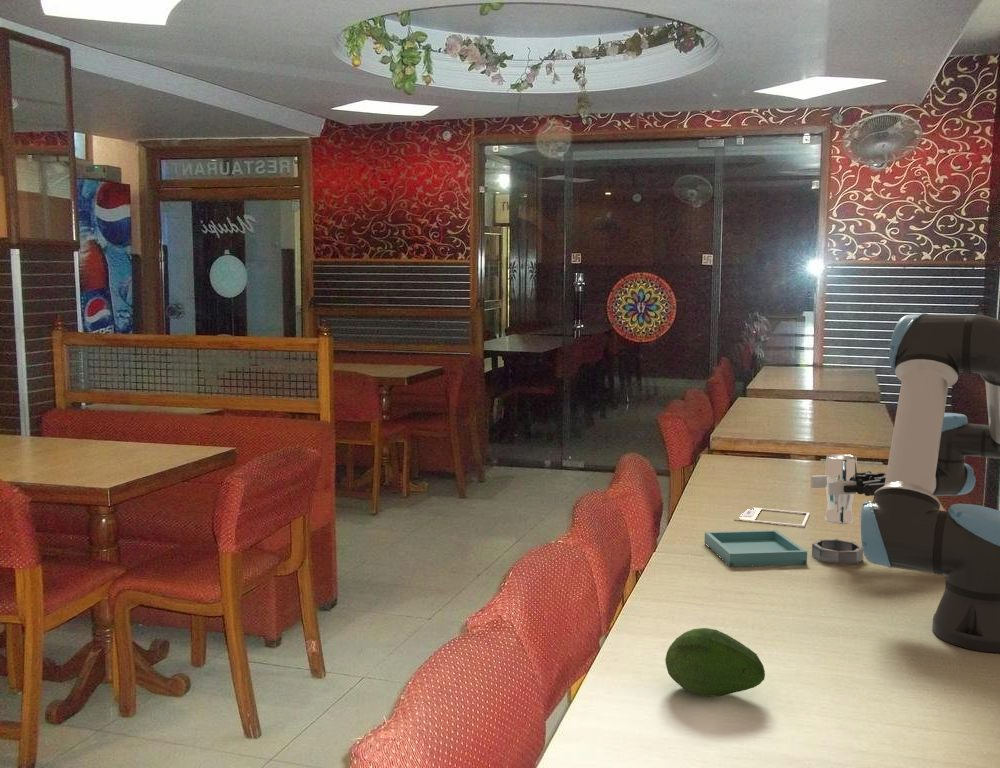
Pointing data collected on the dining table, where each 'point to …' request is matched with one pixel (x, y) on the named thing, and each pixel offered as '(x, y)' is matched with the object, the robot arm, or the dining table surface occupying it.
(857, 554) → the holder ring
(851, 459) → the silver metal tumbler
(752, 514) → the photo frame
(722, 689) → the fruit
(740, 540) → the tray
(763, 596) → the dining table surface
